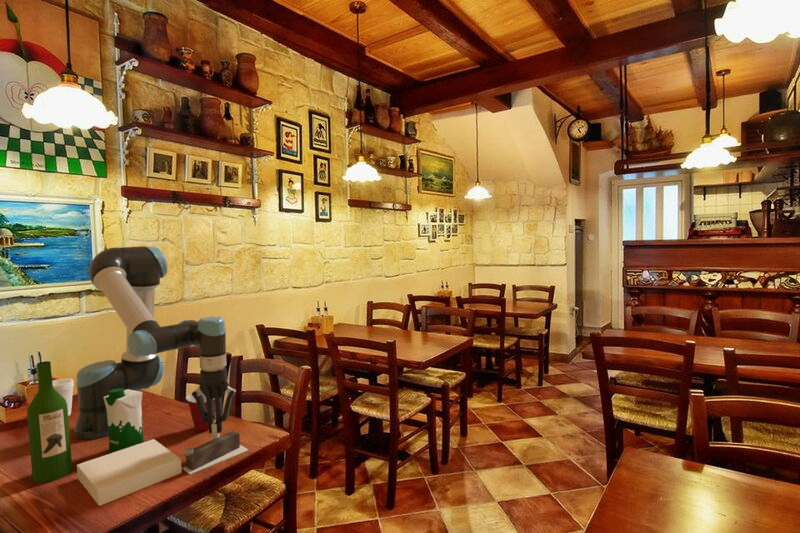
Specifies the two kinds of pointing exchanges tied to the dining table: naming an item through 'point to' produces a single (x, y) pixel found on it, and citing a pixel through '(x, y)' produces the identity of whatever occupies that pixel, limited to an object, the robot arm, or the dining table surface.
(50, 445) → the wine bottle
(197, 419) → the plastic cup
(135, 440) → the milk carton
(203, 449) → the dark grey block
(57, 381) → the foam cup
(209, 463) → the mat
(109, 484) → the cream flat square box
